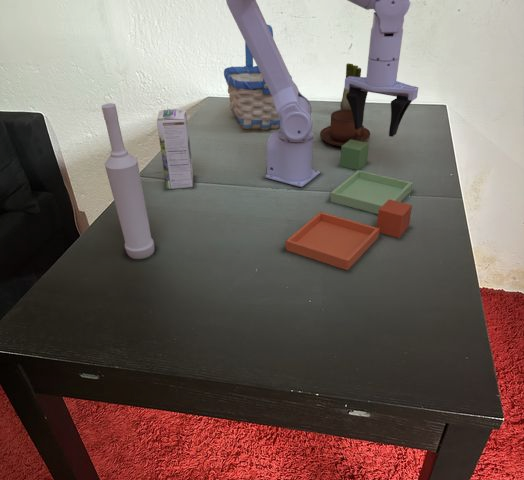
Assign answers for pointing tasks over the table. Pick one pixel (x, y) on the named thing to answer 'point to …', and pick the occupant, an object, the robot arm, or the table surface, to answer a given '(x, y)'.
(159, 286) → the table surface
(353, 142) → the green block
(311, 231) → the clay tray
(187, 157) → the syrup box
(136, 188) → the bottle
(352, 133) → the cup and saucer
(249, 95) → the basket
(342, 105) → the fennel bulb
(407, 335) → the table surface
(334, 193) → the green tray
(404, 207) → the clay block
